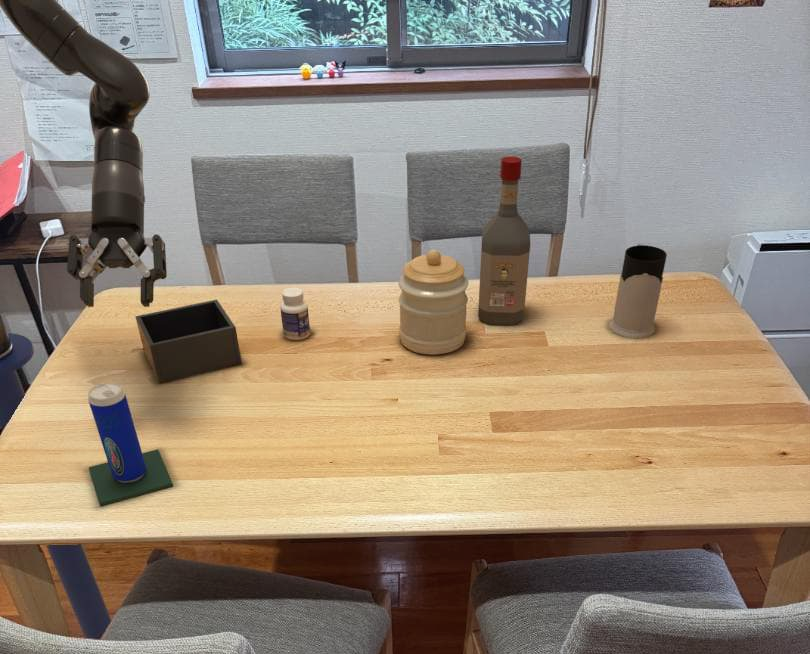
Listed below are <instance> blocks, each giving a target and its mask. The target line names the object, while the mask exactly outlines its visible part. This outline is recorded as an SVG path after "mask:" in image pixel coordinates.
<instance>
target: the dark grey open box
mask: <svg viewBox="0 0 810 654" xmlns="http://www.w3.org/2000/svg"><path fill="white" fill-rule="evenodd" d="M135 321H136V325H137V329H138V333H139V336H140V341H141V344H142V348H143V352H144V353H143V354H144V355H145V357H146V359H147V361H148V363H149V366H150V367H151V369H152V370H151V371H152V372H153V375H154V376H155V378H156V381H157V383H158V384H163V383H167V382H171V381H177V380H180V379H184V378H188V377H194V376H196V375H197V376H198V375H201V374H205V373H210V372H214V371H219V370H223V369H227V368H230V367H231V368H232V367H235V366H240V365H242V364H243V363H242V356H241V351H240V345H239V339H238V333H237V327H236V325H235V324H234V323H233V321H232V319H231V318H230V316H229V315H228V313H227V311H226V310H225V309H224V308H223V305H222V304H221V303H220V301H219V300H218V299H213V300H207V301H202V302H198V303H197V302H196V303H193V304H188V305H184V306H178V307H173V308H169V309H164V310H159V311H155V312H149V313H145V314H139V315H136V316H135Z"/></svg>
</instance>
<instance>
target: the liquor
mask: <svg viewBox="0 0 810 654" xmlns="http://www.w3.org/2000/svg"><path fill="white" fill-rule="evenodd" d="M522 161H523V160H522V158H521V157H518V156H505V157H502V158H501V159H500V170H499V171H500V172H499V178H500V179H501V186H500V187H501V188H500V201H499V206H498V211H497V213H496V214H495V215H494V216H493V217H492V218H491V219H490V220H489V221H488V222H487V223H486V224H485V225H484V227H483V229H482V232H481V247H480V249H481V251H480V266H479V267H480V268H479V270H480V271H479V286H478V287H479V289H478V307H477V309H478V311H477V312H478V313H477V317H478V319H479V321H481V322H483V323H485V324H486V325H494V326H495V325H496V326H497V325H498V326H499V325H500V326H514V325H517V324H518V323H520V322H522V321H523V320H524V318H525V309H526V307H525V306H526V298H527V297H526V296H527V287H528V275H529V263H530V252H531V232H530V228H529V226H528V224H527V223H526V221H525V220H524V219H523V218H522V217H521V215H520V214H519V212H518V205H517V204H518V190H519V189H518V188H519V180H520V179H521V176H522Z"/></svg>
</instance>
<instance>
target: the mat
mask: <svg viewBox="0 0 810 654" xmlns="http://www.w3.org/2000/svg"><path fill="white" fill-rule="evenodd" d="M142 455H143V458H144V462H145V465H146V471H145V473H144V475H143V476H142V477H141V478H140V479H139V480H137V481H134V482H130V483H123V482H119V481H118V480H116V479H115V478H113V476H112V473H111V470H110V467H109V464H108V461H107V462H104V463H100V464H96V465H92V466H89V467H88V471H89V474H90V477H91V480H92V483H93V488H94V491H95V493H96V497H97V500H98V504H99V506H100V507H103V506H107V505H110V504H113V503H116V502H120V501H125V500H127V499H131V498H135V497H139V496H143V495H145V494H150V493H153V492H157V491H160V490H164V489H168V488H171V487H174V484H173V481H172V478H171V477H170V474H169V472H168V468H167V466H166V464H165V462H164V459H163V457H162V455H161V453H160V450H159V449H158V448H157V449H153V450H149V451H146V452H142Z"/></svg>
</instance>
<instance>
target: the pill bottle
mask: <svg viewBox="0 0 810 654" xmlns="http://www.w3.org/2000/svg"><path fill="white" fill-rule="evenodd" d="M281 297H282V302H281V304H280V305H279V307H280V309H279V310H280V317H281V325H282V332H283V337H284V338H286V339H287V340H289V341H301V340H304V339H307V338H308V337H309V336H310V335H311V327H310V315H309V306H308V302H307V301H306V300H304V291H303V289H302V288H299V287H288V288H285V289H284V290H282V292H281Z"/></svg>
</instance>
